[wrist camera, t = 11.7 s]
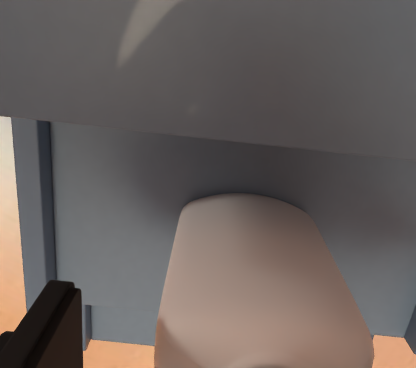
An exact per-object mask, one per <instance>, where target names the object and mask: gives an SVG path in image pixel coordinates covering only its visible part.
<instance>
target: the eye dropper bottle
mask: <svg viewBox="0 0 416 368" xmlns="http://www.w3.org/2000/svg"><path fill="white" fill-rule="evenodd" d="M373 359H374V348H373V341H372V338H371V335H370V331H369V329H368V327H367V325H366V323H365V321H364V319H363V317H362V315H361V312H360V310H359V308H358V306H357V304H356V302H355V300H354V298H353V296H352V294H351V292H350V290H349V288H348V286H347V284H346V282H345V281H344V279H343V277H342V275H341V273H340V271H339V269H338V267H337V265H336V263H335V261H334V259H333V257H332V255H331V253H330V251H329V250H328V248H327V246H326V244H325V242H324V240H323V238H322V236H321V234H320V232H319V230H318V228H317V227H316V225H315V223H314V221H313V220H312V218H311V217H310V216H309V215H308V214H307V213H306V212H304V211H302V210H301V209H299V208H297V207H295V206H293V205H291V204H288V203H286V202H284V201H281V200H278V199H275V198H271V197H267V196H262V195H257V194H247V193H227V194H218V195H212V196H207V197H203V198H200V199H197V200H194V201H191V202H190V203H188V204H187V205H185V206H184V207H183V209H182V211H181V214H180V217H179V221H178V226H177V230H176V234H175V239H174V243H173V248H172V252H171V257H170V261H169V266H168V270H167V275H166V279H165V284H164V288H163V293H162V298H161V303H160V308H159V313H158V318H157V326H156V336H155V352H154V365H155V368H372V364H373Z"/></svg>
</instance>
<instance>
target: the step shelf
mask: <svg viewBox="0 0 416 368" xmlns="http://www.w3.org/2000/svg"><path fill="white" fill-rule="evenodd" d="M0 116H5V117H11V122H12V134H13V147H14V159H15V172H16V184H17V197H18V209H19V221H20V234H21V246H22V259H23V271H24V284H25V296H26V308H27V312H28V310H29V309H30V308H31V306H32V305H33V303H34V302H35V300H36V299H37V297H38V296H39V294H40V293H41V291H42V290H43V288H44V287H45V286H46V284H47V283H48V282H49V280H60V281H70V282H74V284H75V288H80V289H81V292H82V338H83V351H85V350H86V349H87V347H88V344H89V342H90V340H91V339H92V340H101V341H111V342H121V343H130V344H140V345H150V346H155V336H156V326H157V318H158V313H159V308H160V303H161V298H162V293H163V288H164V284H165V279H166V275H167V270H168V266H169V261H170V257H171V252H172V248H173V243H174V239H175V234H176V230H177V226H178V221H179V217H180V214H181V211H182V209H183V207H184V206H185V205H187V204H188V203H190V202H191V201H194V200H197V199H200V198H203V197H207V196H212V195H218V194H227V193H247V194H257V195H262V196H267V197H271V198H275V199H278V200H281V201H284V202H286V203H288V204H291V205H293V206H295V207H297V208H299V209H301V210H302V211H304V212H306V213H307V214H308V215H309V216H310V217H311V218H312V220H313V221H314V223H315V225H316V227H317V228H318V230H319V232H320V234H321V236H322V238H323V240H324V242H325V244H326V246H327V248H328V250H329V251H330V253H331V255H332V257H333V259H334V261H335V263H336V265H337V267H338V269H339V271H340V273H341V275H342V277H343V279H344V281H345V282H346V284H347V286H348V288H349V290H350V292H351V294H352V296H353V298H354V300H355V302H356V304H357V306H358V308H359V310H360V312H361V315H362V317H363V319H364V321H365V323H366V325H367V327H368V329H369V331H370V335H371V338H372V340H373V337H374V335H382V336H391V337H401V338H403V337H404V338H405V340H406V342H407V343H408V345H409V346H410V348H411V350H412V351H413V353H414V354H416V0H0Z"/></svg>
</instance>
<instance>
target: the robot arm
mask: <svg viewBox="0 0 416 368" xmlns="http://www.w3.org/2000/svg"><path fill="white" fill-rule="evenodd" d="M0 368H83V338H82V292H81V289H80V288H75V284H74V282H70V281H60V280H49V282H48V283H47V284H46V286H45V287H44V288H43V290H42V291H41V293H40V294H39V296H38V297H37V299H36V300H35V302H34V303H33V305H32V306H31V308H30V309H29V310H28V312H27V313H26V315H25V316H24V318H23V319H22V321H21V322H20V324H19V325H18V327H17V328H16V330H15V331H14V332H10V331H6V332H4V333H2V334H1V335H0Z"/></svg>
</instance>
